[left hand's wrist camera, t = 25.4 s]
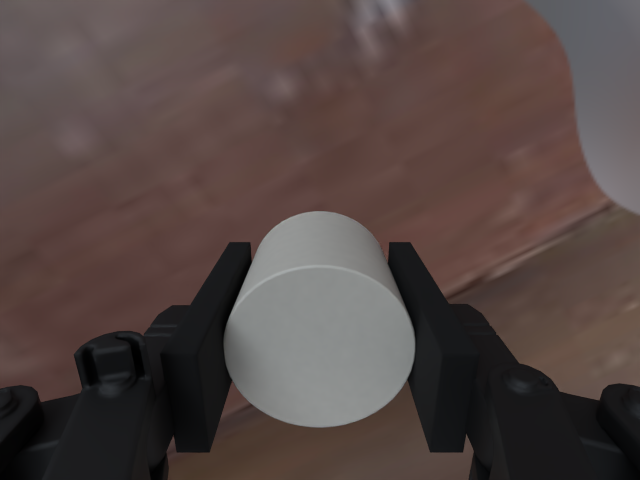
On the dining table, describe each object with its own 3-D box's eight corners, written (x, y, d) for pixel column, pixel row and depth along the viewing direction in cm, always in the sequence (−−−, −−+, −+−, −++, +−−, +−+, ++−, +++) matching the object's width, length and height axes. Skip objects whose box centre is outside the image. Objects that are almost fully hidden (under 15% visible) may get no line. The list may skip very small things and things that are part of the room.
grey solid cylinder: (225, 277, 15) (183, 357, 10) (316, 181, 13) (313, 224, 9) (322, 354, 16) (323, 456, 11) (414, 272, 15) (456, 350, 10)
